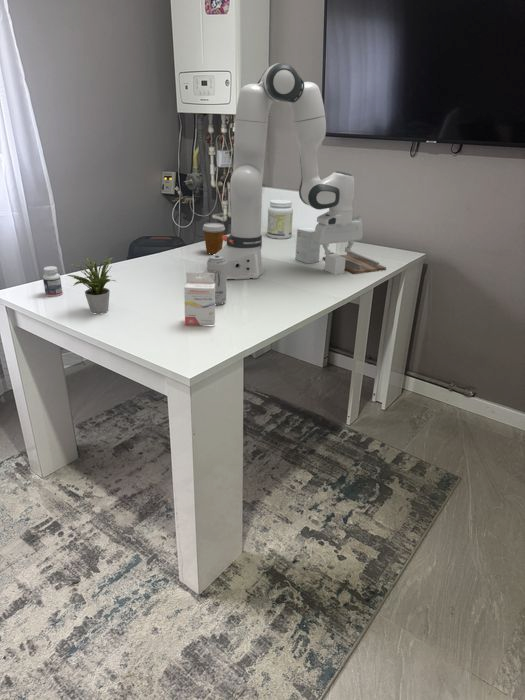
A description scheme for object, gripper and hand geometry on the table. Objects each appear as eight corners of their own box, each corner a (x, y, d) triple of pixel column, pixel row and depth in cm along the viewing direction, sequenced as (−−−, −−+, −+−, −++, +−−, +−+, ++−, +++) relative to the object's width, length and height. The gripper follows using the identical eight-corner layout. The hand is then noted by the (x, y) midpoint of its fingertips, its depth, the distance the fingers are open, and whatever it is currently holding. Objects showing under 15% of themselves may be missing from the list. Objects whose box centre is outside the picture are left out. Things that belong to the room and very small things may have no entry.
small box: (319, 261, 210) (321, 230, 204) (308, 264, 206) (310, 232, 200) (305, 257, 215) (307, 226, 209) (294, 259, 211) (296, 228, 206)
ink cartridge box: (184, 326, 144) (183, 276, 137) (186, 319, 148) (184, 271, 142) (214, 326, 144) (214, 277, 138) (215, 320, 149) (215, 272, 142)
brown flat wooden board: (353, 274, 195) (354, 266, 194) (322, 259, 213) (322, 252, 211) (385, 269, 202) (387, 262, 201) (353, 255, 219) (353, 249, 218)
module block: (334, 274, 194) (335, 259, 192) (324, 269, 200) (325, 254, 197) (344, 273, 196) (345, 258, 193) (333, 268, 202) (335, 253, 199)
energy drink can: (205, 305, 160) (204, 258, 153) (209, 298, 165) (209, 253, 159) (224, 306, 159) (224, 260, 153) (228, 300, 164) (228, 255, 158)
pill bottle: (45, 292, 165) (41, 266, 161) (62, 291, 167) (58, 265, 163) (45, 297, 161) (41, 270, 157) (62, 296, 163) (59, 269, 159)
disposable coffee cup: (204, 249, 220) (204, 222, 215) (226, 250, 220) (226, 223, 215) (201, 255, 212) (200, 227, 206) (223, 256, 212) (223, 228, 206)
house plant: (96, 298, 162) (91, 248, 155) (133, 305, 157) (129, 254, 150) (66, 313, 150) (58, 259, 143) (104, 321, 145) (98, 266, 138)
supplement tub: (280, 232, 256) (281, 198, 248) (296, 237, 248) (299, 202, 240) (261, 235, 249) (263, 200, 241) (278, 240, 240) (280, 204, 233)
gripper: (357, 213, 196) (354, 248, 202) (313, 217, 187) (311, 254, 193) (367, 216, 191) (364, 252, 197) (322, 221, 182) (320, 258, 188)
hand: (337, 253), depth 195 cm, fingers open, 8 cm apart
